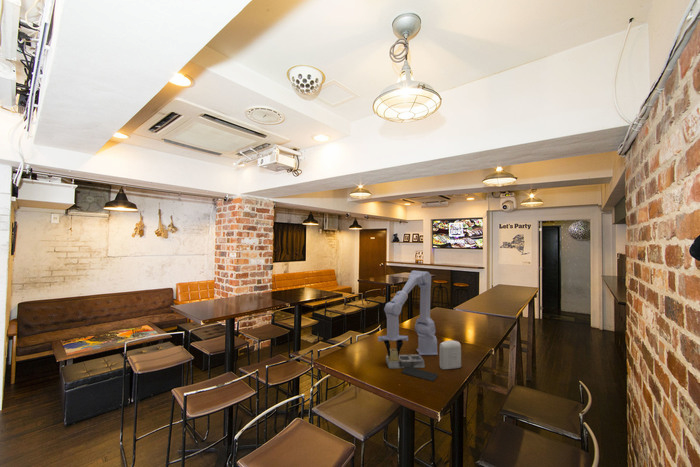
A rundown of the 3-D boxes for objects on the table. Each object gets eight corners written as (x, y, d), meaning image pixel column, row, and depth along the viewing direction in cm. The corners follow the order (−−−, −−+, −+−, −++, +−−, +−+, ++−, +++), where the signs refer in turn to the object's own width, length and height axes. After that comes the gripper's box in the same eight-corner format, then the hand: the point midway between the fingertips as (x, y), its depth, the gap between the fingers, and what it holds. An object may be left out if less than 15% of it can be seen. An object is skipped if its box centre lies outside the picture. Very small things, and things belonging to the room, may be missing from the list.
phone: (433, 381, 118) (400, 372, 127) (433, 383, 118) (400, 374, 127) (438, 374, 125) (406, 366, 133) (438, 376, 125) (406, 367, 133)
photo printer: (457, 364, 135) (456, 338, 136) (462, 368, 131) (462, 341, 132) (438, 366, 133) (437, 340, 133) (443, 370, 129) (442, 343, 129)
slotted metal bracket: (419, 360, 140) (419, 354, 140) (424, 367, 132) (424, 361, 132) (385, 361, 139) (385, 355, 140) (388, 368, 131) (388, 362, 132)
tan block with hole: (397, 362, 138) (397, 347, 138) (399, 366, 133) (399, 351, 133) (387, 362, 138) (387, 348, 138) (389, 367, 133) (389, 352, 133)
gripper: (379, 330, 132) (379, 359, 131) (409, 329, 132) (410, 358, 132) (377, 326, 139) (377, 353, 139) (406, 325, 139) (406, 353, 139)
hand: (393, 355), depth 136 cm, fingers closed on tan block with hole, 4 cm apart
